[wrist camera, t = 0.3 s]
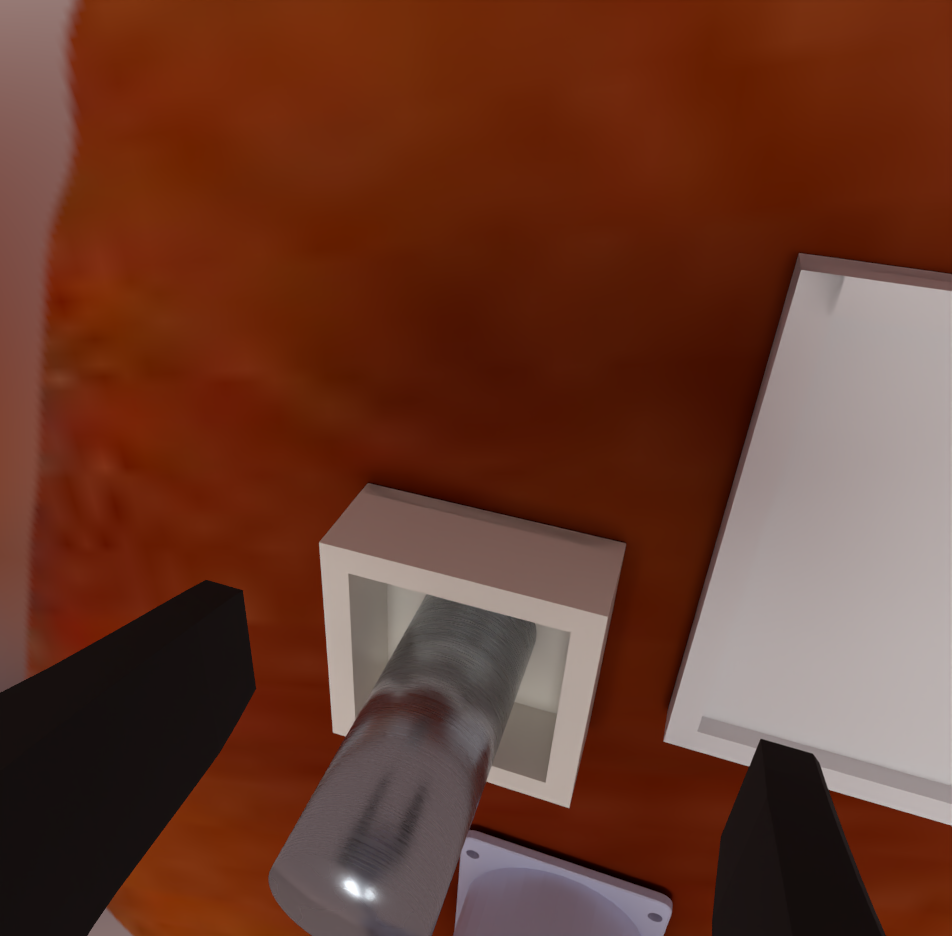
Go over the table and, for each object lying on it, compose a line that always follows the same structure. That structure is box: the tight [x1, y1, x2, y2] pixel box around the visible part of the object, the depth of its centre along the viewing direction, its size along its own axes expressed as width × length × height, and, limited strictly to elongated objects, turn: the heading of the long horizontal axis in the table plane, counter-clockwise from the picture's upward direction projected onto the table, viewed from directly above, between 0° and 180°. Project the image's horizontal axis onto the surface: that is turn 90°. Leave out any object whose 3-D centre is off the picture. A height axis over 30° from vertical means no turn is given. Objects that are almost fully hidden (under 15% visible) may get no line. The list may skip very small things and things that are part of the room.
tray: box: [663, 253, 952, 825], centre depth 18 cm, size 14×10×1 cm
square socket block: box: [319, 483, 627, 808], centre depth 22 cm, size 8×8×3 cm
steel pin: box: [269, 594, 537, 936], centre depth 19 cm, size 4×4×9 cm
